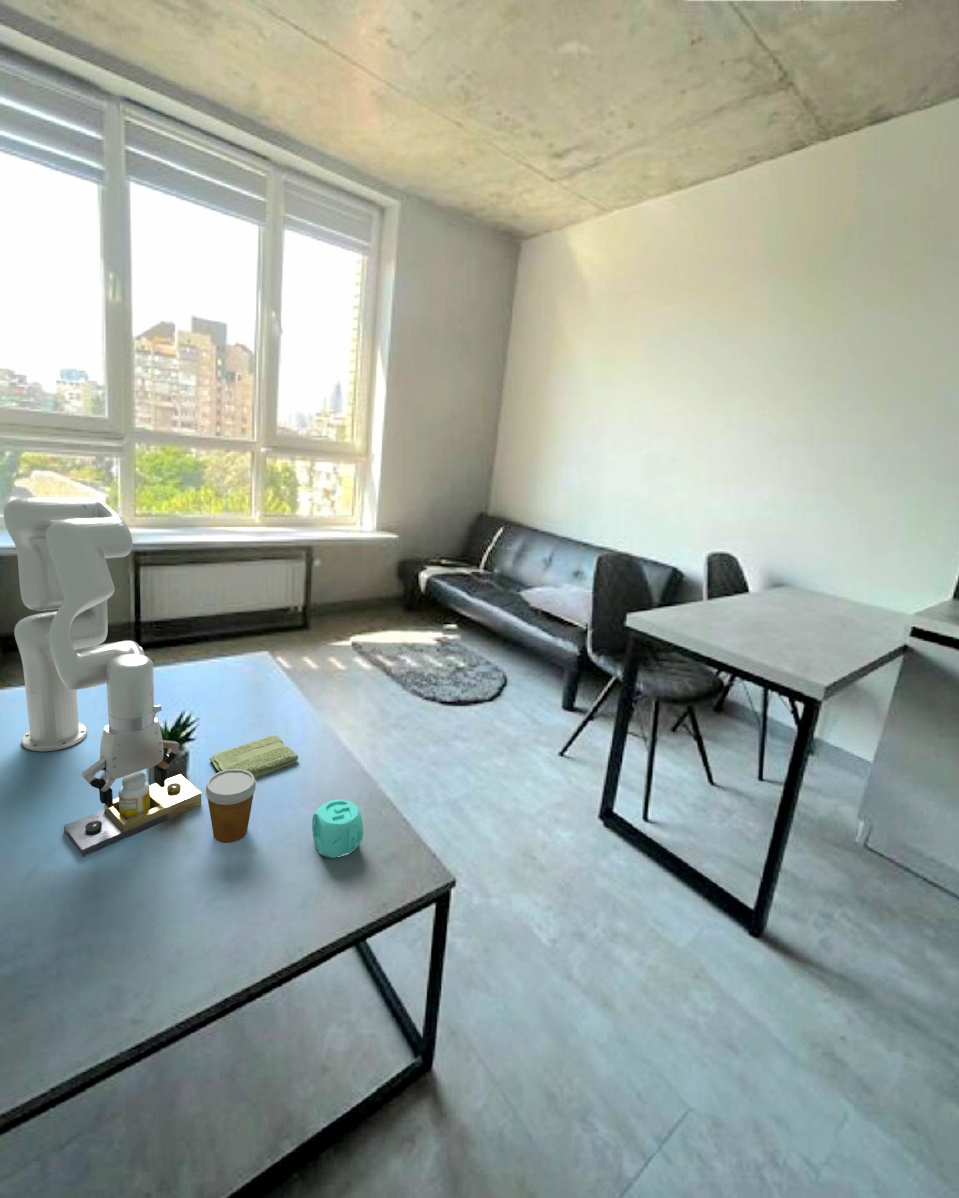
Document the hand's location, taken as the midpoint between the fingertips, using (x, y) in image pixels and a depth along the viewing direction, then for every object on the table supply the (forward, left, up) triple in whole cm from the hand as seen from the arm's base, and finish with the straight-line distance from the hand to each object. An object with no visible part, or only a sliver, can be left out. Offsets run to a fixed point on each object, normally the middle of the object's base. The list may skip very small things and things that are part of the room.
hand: (134, 793), depth 114 cm
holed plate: (0, 0, -6) cm, 6 cm away
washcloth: (-2, +28, -6) cm, 29 cm away
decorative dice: (+33, +24, -6) cm, 41 cm away
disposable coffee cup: (+16, +11, -6) cm, 21 cm away
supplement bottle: (0, 0, -6) cm, 6 cm away
